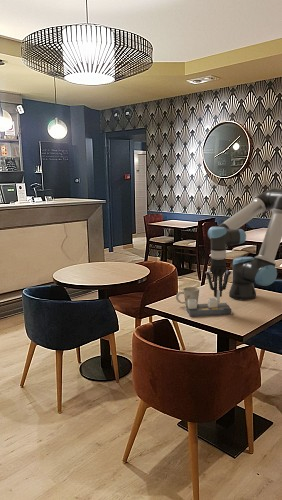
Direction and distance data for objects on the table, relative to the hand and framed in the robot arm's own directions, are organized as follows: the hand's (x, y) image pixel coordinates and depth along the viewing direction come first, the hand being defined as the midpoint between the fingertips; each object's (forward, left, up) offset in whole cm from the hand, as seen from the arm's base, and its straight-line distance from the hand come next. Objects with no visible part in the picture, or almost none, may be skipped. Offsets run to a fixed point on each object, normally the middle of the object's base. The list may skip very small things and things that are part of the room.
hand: (217, 302), depth 203 cm
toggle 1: (+13, 0, -2) cm, 13 cm away
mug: (+14, -10, -5) cm, 18 cm away
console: (+5, 0, -5) cm, 7 cm away
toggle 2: (+3, 0, -2) cm, 3 cm away
